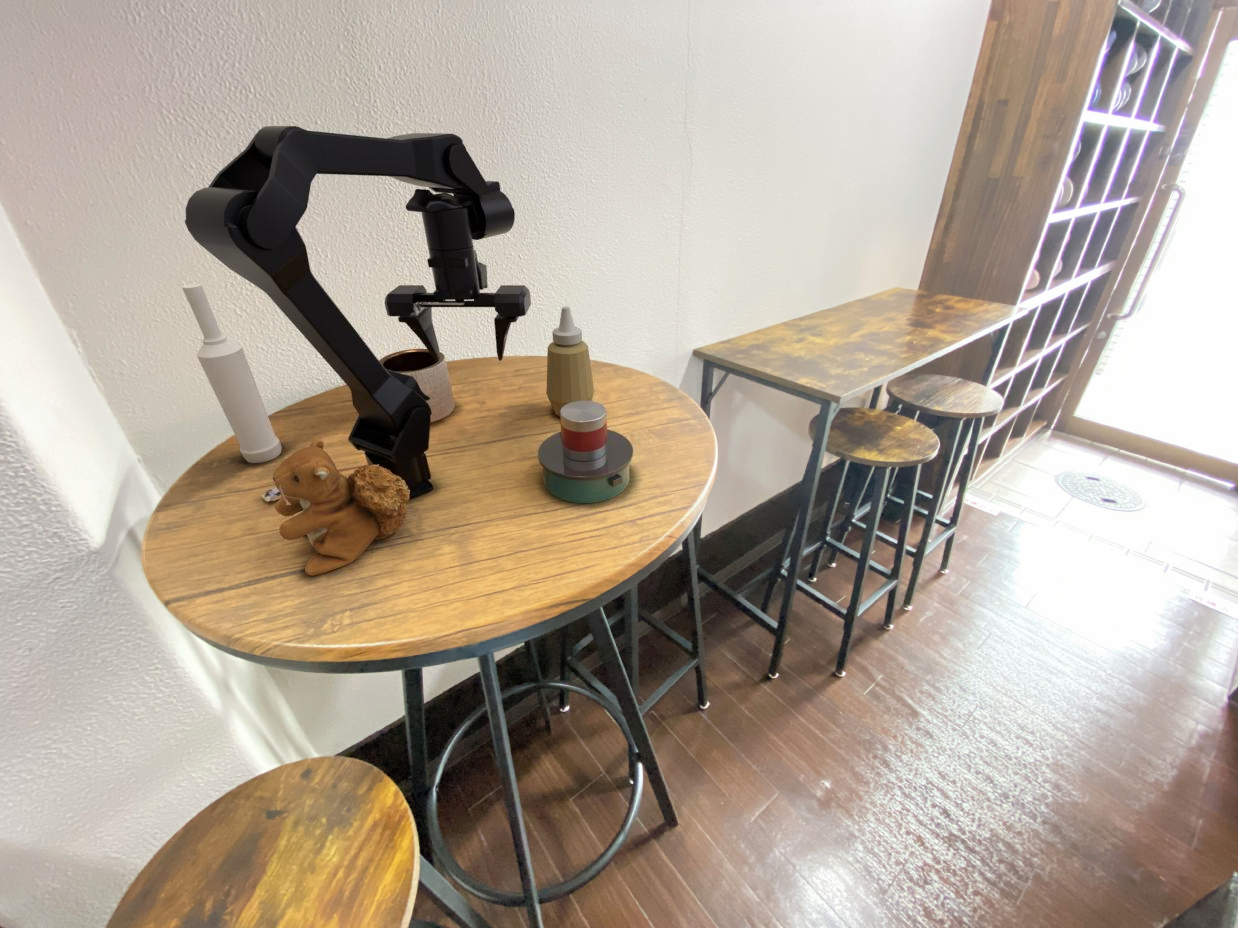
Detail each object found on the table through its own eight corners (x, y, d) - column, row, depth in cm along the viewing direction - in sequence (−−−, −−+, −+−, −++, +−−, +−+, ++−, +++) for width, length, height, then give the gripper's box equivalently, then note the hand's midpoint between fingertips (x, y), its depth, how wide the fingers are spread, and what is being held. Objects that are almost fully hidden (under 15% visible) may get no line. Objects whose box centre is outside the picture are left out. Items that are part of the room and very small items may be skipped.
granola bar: (312, 476, 75) (310, 470, 75) (320, 482, 74) (317, 476, 73) (261, 498, 71) (258, 492, 70) (268, 505, 70) (265, 499, 69)
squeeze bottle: (573, 427, 87) (567, 319, 78) (538, 413, 91) (528, 309, 82) (604, 409, 93) (602, 306, 83) (569, 397, 97) (563, 297, 87)
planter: (445, 428, 87) (433, 373, 82) (379, 427, 87) (363, 373, 82) (462, 398, 96) (453, 348, 91) (403, 398, 97) (390, 347, 91)
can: (579, 467, 69) (577, 426, 66) (553, 448, 73) (550, 409, 70) (616, 451, 72) (616, 412, 69) (589, 434, 76) (588, 396, 73)
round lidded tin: (578, 520, 67) (576, 491, 65) (521, 472, 76) (517, 445, 74) (654, 482, 74) (655, 454, 72) (593, 443, 83) (592, 417, 81)
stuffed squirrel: (296, 529, 66) (256, 437, 59) (415, 501, 71) (392, 413, 63) (290, 583, 58) (243, 485, 51) (424, 548, 63) (399, 453, 56)
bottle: (266, 465, 78) (191, 292, 64) (235, 461, 79) (155, 290, 65) (291, 447, 82) (225, 281, 69) (261, 444, 83) (191, 279, 69)
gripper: (531, 235, 76) (540, 340, 85) (401, 235, 76) (423, 340, 85) (518, 251, 67) (529, 368, 75) (370, 251, 67) (398, 367, 75)
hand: (469, 359), depth 78 cm, fingers open, 9 cm apart
